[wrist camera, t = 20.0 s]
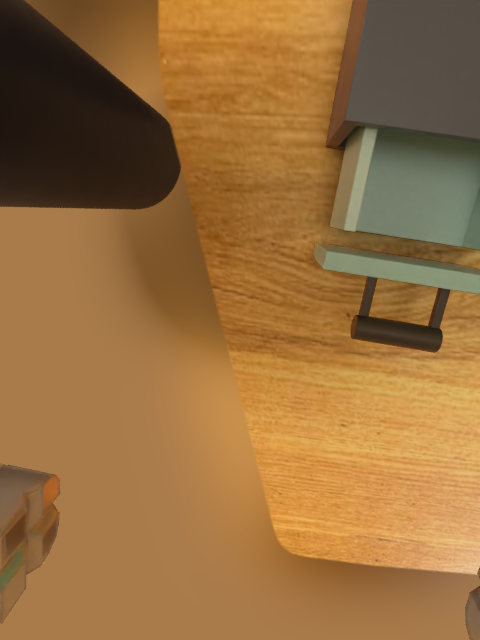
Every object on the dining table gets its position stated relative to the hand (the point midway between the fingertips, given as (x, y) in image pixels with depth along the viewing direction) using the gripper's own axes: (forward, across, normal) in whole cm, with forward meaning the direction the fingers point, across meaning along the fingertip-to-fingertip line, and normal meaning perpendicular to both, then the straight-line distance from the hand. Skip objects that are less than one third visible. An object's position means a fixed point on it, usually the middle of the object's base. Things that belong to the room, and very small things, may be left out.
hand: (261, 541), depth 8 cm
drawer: (+28, +9, +7) cm, 30 cm away
